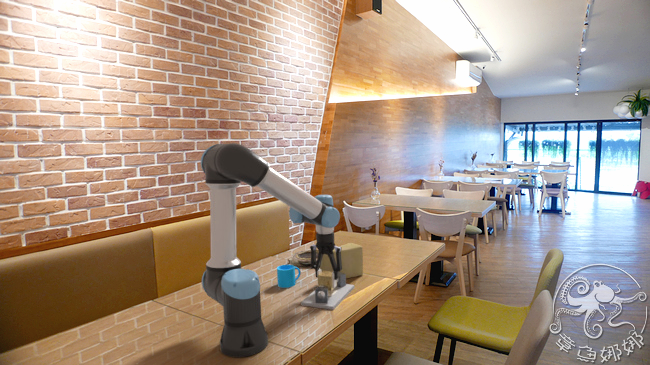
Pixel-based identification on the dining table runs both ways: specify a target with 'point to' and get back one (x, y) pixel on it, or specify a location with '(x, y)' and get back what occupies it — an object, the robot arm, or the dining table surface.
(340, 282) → the shaft right
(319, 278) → the block
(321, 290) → the shaft left
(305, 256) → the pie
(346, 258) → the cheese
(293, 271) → the mug
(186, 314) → the dining table surface
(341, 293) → the grey base plate
